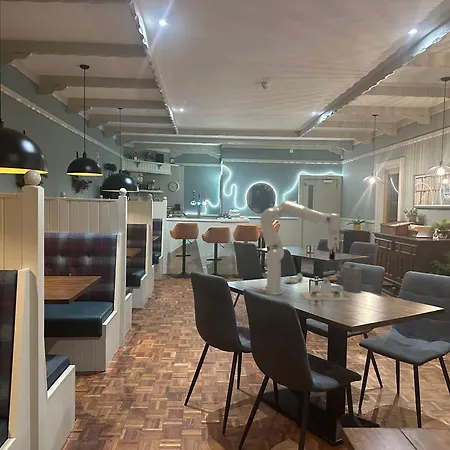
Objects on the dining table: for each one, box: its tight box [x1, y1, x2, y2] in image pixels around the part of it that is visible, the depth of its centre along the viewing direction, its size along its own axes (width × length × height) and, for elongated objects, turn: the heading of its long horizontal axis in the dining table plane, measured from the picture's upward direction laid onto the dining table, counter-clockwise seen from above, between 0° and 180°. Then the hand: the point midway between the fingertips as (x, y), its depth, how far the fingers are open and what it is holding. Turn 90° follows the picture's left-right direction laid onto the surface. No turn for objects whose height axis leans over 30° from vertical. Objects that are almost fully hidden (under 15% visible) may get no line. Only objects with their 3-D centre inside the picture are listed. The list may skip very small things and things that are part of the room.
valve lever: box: [322, 275, 344, 283], centre depth 289 cm, size 14×3×4 cm, turn 96°
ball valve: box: [299, 280, 352, 301], centre depth 289 cm, size 30×16×12 cm, turn 93°
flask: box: [342, 263, 363, 294], centre depth 312 cm, size 15×6×20 cm, turn 32°
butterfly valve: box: [283, 256, 304, 284], centre depth 343 cm, size 9×20×17 cm
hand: (331, 259), depth 285 cm, fingers closed
